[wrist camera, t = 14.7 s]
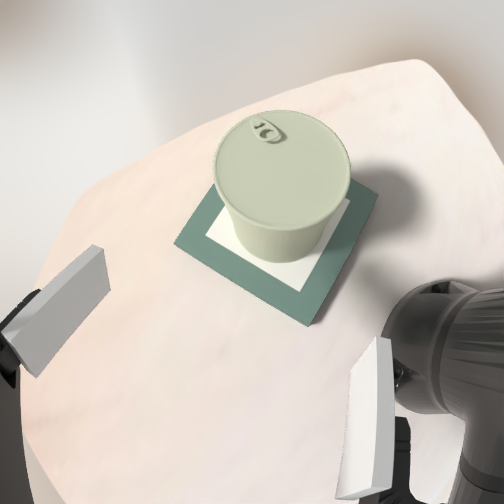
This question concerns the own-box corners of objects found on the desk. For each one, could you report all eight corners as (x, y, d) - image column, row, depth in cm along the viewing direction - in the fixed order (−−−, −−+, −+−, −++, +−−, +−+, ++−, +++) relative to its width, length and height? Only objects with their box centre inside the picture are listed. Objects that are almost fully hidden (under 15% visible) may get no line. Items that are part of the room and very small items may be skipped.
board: (373, 199, 31) (378, 194, 29) (306, 326, 29) (308, 327, 27) (254, 136, 33) (253, 128, 32) (177, 246, 31) (173, 243, 30)
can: (296, 164, 30) (306, 90, 19) (340, 237, 28) (380, 190, 17) (219, 200, 30) (189, 137, 18) (258, 279, 28) (249, 256, 16)
